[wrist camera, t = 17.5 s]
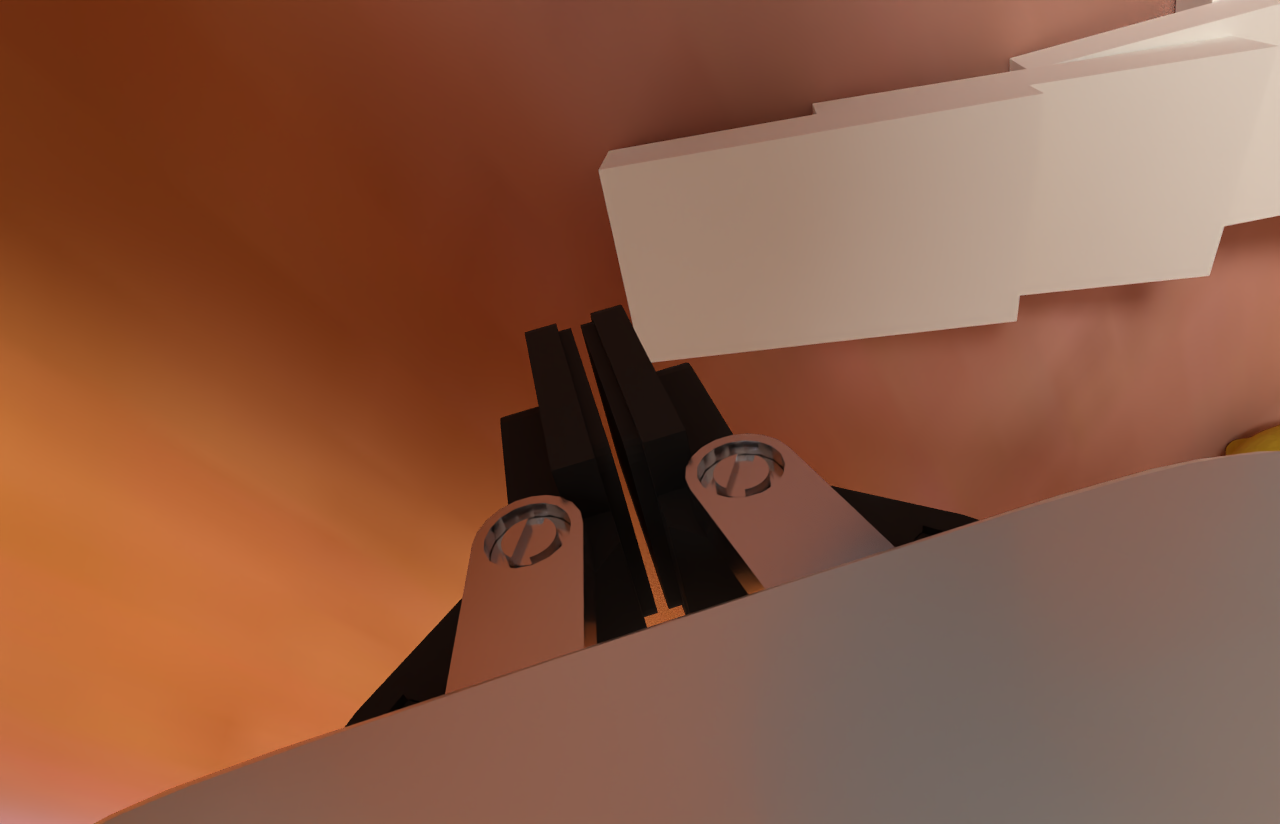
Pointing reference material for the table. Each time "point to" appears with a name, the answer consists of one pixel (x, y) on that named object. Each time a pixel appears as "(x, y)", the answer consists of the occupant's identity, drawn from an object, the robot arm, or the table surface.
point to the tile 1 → (828, 223)
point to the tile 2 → (1131, 159)
